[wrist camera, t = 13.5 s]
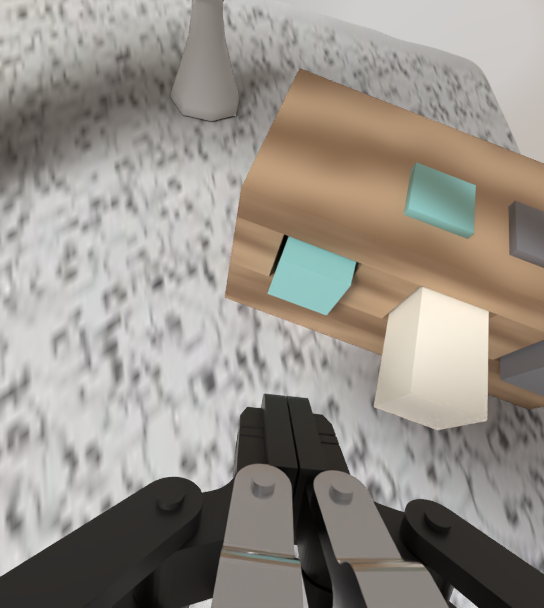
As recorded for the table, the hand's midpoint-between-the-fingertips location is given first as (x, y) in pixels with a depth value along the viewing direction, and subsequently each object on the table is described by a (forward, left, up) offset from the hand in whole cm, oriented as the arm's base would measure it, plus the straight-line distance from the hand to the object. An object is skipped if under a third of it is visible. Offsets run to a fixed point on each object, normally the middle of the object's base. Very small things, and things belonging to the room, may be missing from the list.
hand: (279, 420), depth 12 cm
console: (+17, +2, -13) cm, 22 cm away
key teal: (+11, +8, -7) cm, 15 cm away
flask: (+17, +30, -13) cm, 37 cm away
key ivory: (+12, -2, -7) cm, 14 cm away
